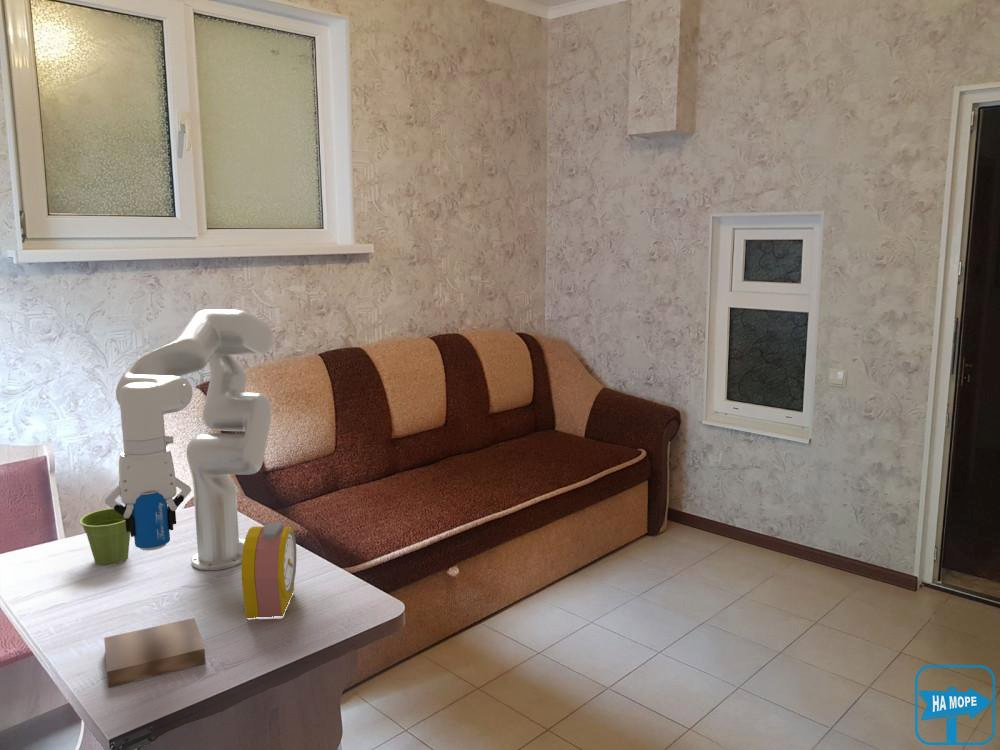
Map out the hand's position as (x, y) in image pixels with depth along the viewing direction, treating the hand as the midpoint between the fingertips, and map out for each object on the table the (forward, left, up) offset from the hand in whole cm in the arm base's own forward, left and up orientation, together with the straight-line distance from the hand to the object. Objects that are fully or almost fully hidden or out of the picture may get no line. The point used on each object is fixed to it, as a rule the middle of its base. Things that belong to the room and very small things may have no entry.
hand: (151, 530), depth 153 cm
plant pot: (+7, -37, -20) cm, 42 cm away
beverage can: (0, 0, -3) cm, 3 cm away
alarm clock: (-22, +5, -20) cm, 30 cm away
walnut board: (+2, +15, -19) cm, 25 cm away
